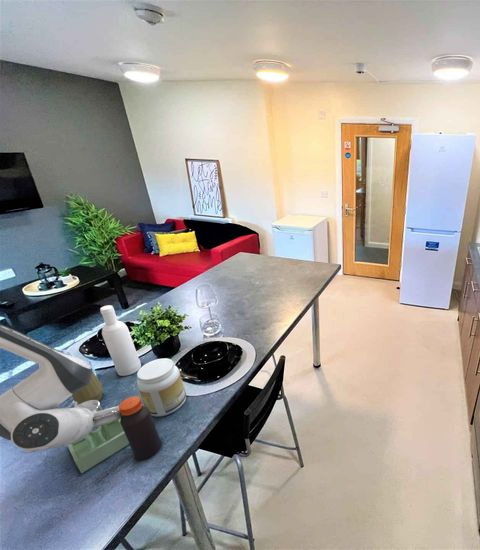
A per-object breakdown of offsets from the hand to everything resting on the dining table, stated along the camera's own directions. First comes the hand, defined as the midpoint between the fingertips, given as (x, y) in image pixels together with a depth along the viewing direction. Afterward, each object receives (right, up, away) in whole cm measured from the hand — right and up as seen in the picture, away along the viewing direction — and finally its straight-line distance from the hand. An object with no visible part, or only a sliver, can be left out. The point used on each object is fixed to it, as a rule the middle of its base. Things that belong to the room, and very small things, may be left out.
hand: (93, 422), depth 87 cm
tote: (0, -8, +3) cm, 9 cm away
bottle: (-16, +5, +33) cm, 37 cm away
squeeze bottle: (-18, -1, +18) cm, 25 cm away
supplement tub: (+10, -2, +18) cm, 21 cm away
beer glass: (0, -8, +3) cm, 9 cm away
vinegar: (+15, -10, +2) cm, 18 cm away
